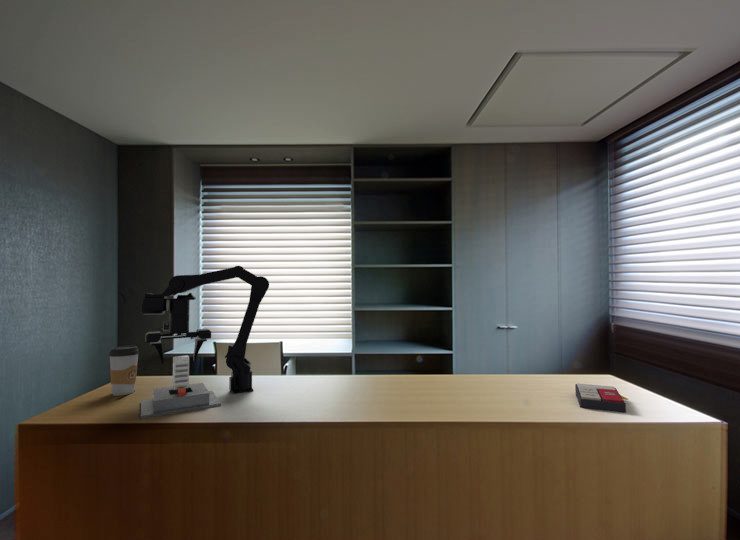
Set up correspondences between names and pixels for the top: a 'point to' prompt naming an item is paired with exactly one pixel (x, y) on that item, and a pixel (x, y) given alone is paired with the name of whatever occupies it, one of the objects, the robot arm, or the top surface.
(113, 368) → the coffee cup
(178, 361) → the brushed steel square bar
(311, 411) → the top surface
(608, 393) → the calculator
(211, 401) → the stand base
